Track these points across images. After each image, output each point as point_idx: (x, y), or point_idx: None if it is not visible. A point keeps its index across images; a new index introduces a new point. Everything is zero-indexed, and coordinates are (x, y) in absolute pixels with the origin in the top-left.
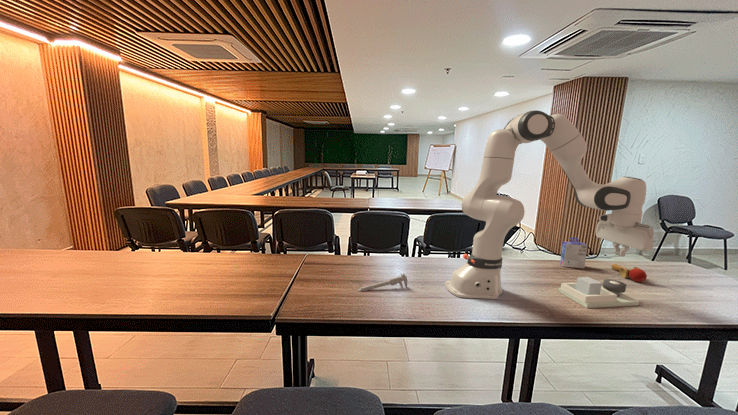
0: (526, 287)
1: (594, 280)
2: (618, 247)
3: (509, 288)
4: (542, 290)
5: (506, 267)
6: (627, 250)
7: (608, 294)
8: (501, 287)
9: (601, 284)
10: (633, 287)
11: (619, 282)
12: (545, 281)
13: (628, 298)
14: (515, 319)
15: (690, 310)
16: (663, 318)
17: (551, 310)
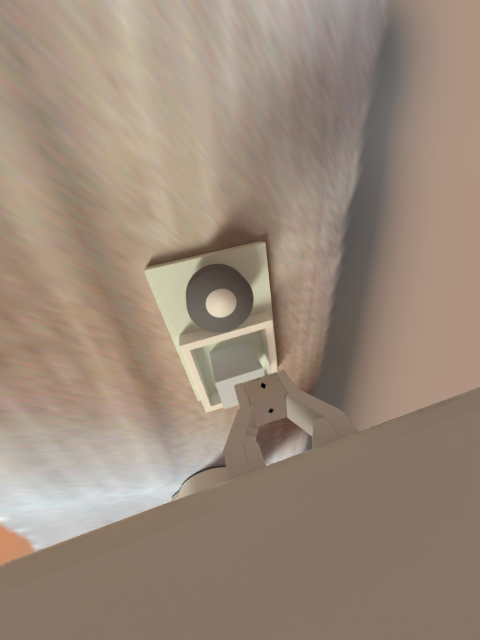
0: (188, 439)
1: (243, 377)
2: (249, 430)
3: (201, 459)
4: (199, 418)
5: (42, 469)
6: (316, 398)
7: (269, 339)
8: (222, 476)
9: (261, 365)
10: (64, 90)
11: (215, 283)
12: (132, 405)
13: (246, 262)
14: (302, 451)
15: (298, 41)
16: (328, 233)
17: (282, 418)
